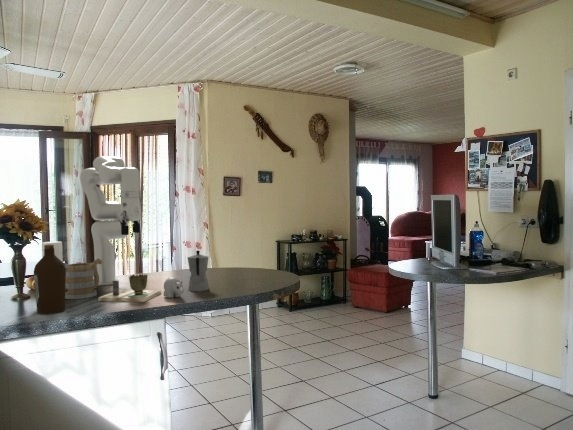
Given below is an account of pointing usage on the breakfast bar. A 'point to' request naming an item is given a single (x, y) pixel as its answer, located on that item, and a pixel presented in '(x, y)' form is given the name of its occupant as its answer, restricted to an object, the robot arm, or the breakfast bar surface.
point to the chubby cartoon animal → (173, 287)
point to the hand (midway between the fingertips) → (130, 233)
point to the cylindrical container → (56, 249)
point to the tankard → (82, 280)
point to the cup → (138, 283)
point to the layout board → (128, 295)
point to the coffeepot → (198, 272)
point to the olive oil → (50, 283)
